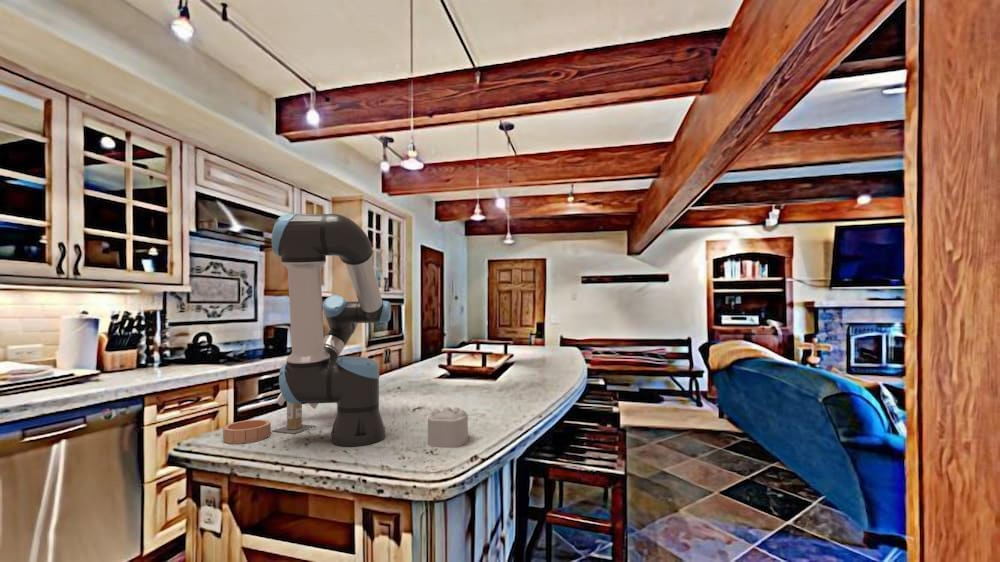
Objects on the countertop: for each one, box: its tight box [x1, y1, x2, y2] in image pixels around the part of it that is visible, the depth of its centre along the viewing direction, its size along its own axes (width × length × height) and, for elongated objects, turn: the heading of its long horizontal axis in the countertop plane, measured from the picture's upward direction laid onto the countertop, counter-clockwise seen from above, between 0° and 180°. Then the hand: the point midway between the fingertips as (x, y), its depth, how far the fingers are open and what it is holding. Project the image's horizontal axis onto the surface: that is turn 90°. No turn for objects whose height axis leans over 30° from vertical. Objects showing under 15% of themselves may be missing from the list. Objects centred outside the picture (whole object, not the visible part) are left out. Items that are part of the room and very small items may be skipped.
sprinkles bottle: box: [286, 401, 303, 430], centre depth 148 cm, size 5×5×14 cm
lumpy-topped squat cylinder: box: [427, 406, 469, 448], centre depth 134 cm, size 10×13×9 cm
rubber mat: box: [271, 423, 316, 435], centre depth 148 cm, size 9×9×1 cm
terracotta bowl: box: [222, 419, 272, 445], centre depth 139 cm, size 12×12×4 cm
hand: (295, 404), depth 149 cm, fingers open, 13 cm apart
